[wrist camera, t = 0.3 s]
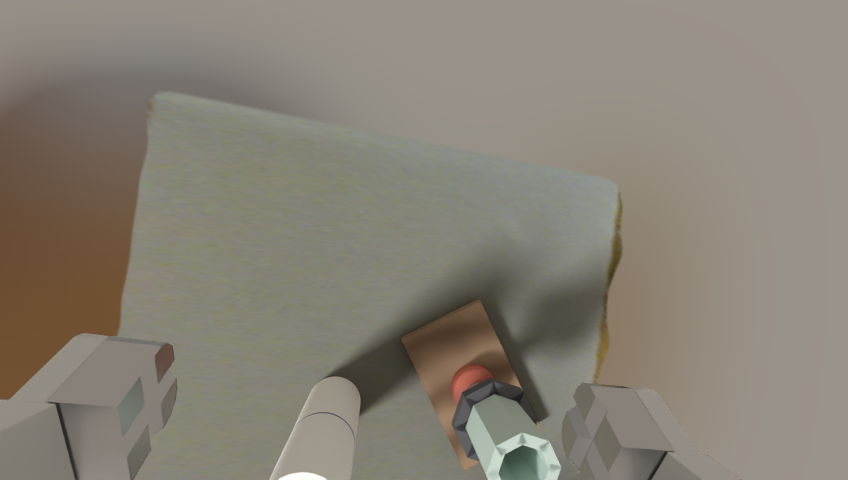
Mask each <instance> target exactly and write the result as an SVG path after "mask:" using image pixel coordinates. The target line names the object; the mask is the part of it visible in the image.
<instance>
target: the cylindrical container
mask: <svg viewBox="0 0 848 480" xmlns="http://www.w3.org/2000/svg"><path fill="white" fill-rule="evenodd" d="M360 405H361V399H360V394H359V391H358V389H357V388H356V386H355V385H354V384H353V383H352V382H351V381H349V380H347V379H345V378H342V377H328V378H325V379H323V380H321V381H319V382H318V383H317V384H316V385H315V386H314V388H313V389H312V391H311V393H310V395H309V397H308V399H307V401H306V403H305V405H304V407H303V409H302V411H301V413H300V416H299V418H298V420H297V422H296V424H295V426H294V429H293V431H292V433H291V435H290V437H289V439H288V441H287V443H286V445H285V448H284V450H283V452H282V454H281V456H280V458H279V460H278V462H277V464H276V466H275V469H274V471H273V473H272V475H271V477H270V479H269V480H350V479H351V471H352V464H353V457H354V449H355V442H356V434H357V427H358V420H359V413H360Z"/></svg>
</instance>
